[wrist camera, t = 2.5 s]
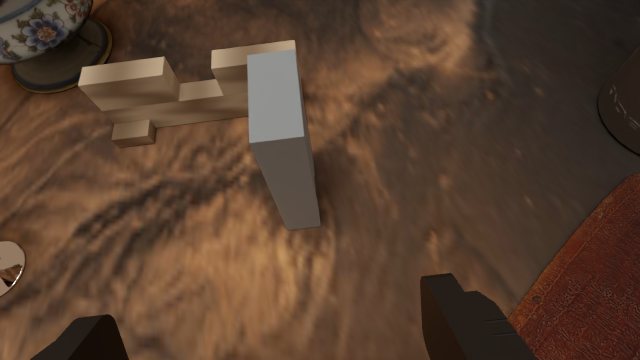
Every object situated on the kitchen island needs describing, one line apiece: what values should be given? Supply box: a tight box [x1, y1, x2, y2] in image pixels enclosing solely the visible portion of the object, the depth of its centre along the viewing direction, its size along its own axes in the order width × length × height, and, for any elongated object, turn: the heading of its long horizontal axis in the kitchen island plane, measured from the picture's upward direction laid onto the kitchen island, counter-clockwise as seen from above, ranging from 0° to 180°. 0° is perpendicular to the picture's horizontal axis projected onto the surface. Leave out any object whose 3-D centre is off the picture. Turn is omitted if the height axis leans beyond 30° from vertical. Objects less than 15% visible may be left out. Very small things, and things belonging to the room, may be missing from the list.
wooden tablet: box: [507, 173, 640, 360], centre depth 23 cm, size 27×10×2 cm, turn 133°
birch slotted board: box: [78, 40, 304, 148], centre depth 30 cm, size 16×5×6 cm, turn 96°
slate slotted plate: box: [247, 49, 321, 230], centre depth 24 cm, size 2×5×12 cm, turn 6°
